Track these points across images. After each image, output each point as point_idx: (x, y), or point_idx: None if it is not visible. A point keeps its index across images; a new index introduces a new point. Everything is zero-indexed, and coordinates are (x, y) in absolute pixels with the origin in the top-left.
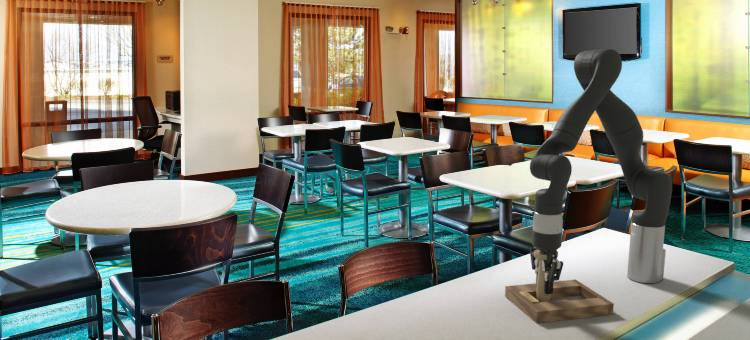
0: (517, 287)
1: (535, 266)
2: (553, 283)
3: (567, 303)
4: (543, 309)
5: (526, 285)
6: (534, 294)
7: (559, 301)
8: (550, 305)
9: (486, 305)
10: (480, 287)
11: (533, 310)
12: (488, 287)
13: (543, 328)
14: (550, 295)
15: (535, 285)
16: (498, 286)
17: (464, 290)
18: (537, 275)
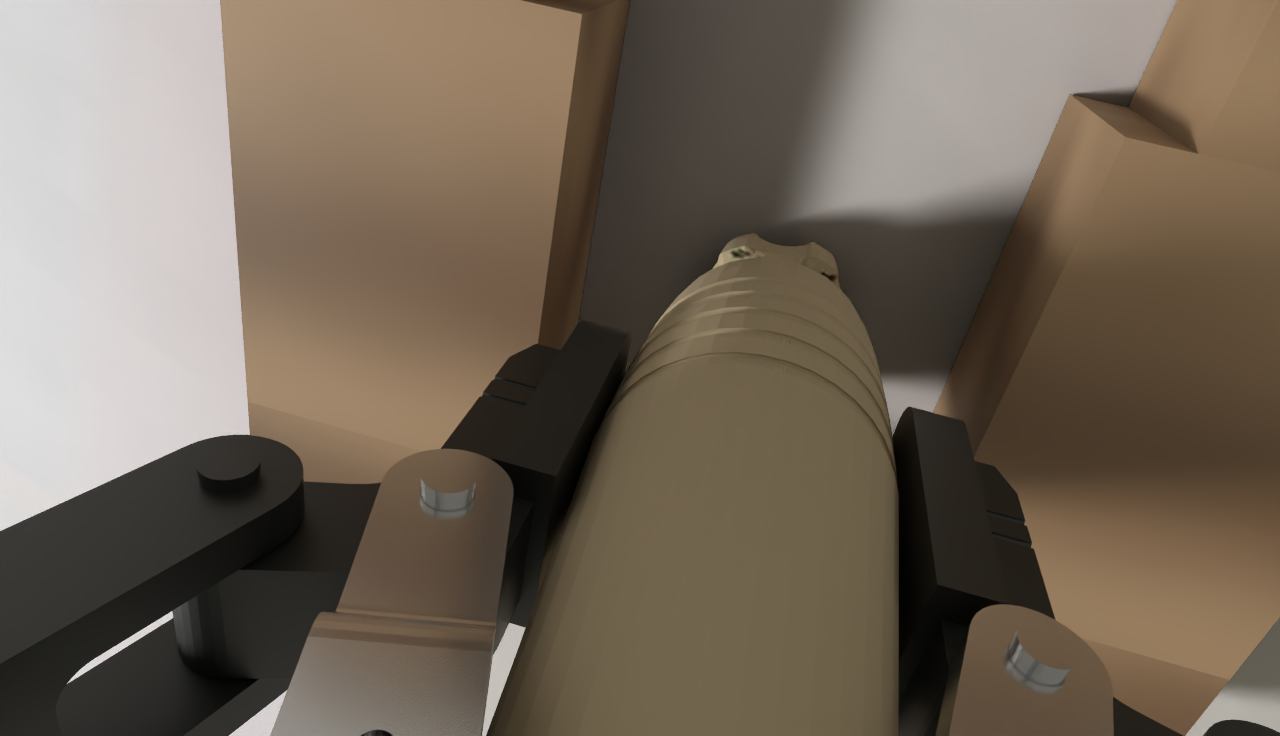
0: (328, 450)
1: (261, 667)
2: (1054, 616)
3: (1275, 268)
4: (1137, 704)
5: (287, 296)
6: (552, 333)
7: (1099, 324)
8: (1107, 547)
9: (485, 717)
10: (62, 495)
11: None
12: (66, 433)
13: (1243, 710)
14: (869, 349)
15: (317, 166)
16: (44, 326)
17: (123, 641)
18: (523, 619)
